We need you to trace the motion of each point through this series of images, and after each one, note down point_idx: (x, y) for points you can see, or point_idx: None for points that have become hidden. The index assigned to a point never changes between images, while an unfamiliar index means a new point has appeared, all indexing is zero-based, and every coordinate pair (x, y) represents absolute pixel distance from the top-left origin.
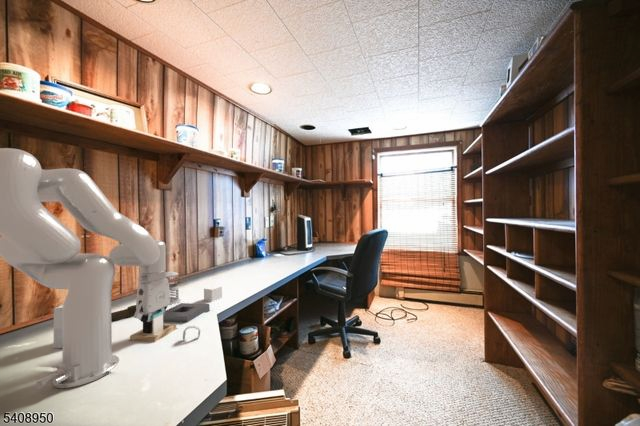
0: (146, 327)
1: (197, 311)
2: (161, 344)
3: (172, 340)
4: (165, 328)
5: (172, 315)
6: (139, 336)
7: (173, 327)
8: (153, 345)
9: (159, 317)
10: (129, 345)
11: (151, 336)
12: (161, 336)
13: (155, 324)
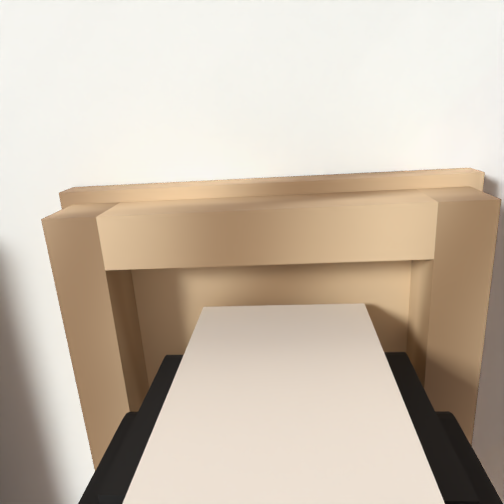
0: (474, 465)
1: None
2: (460, 79)
3: (340, 7)
4: (134, 336)
5: None
6: (470, 436)
7: (112, 211)
8: (487, 172)
9: (249, 483)
10: (484, 442)
11: (483, 268)
12: (353, 194)
13: (357, 400)
